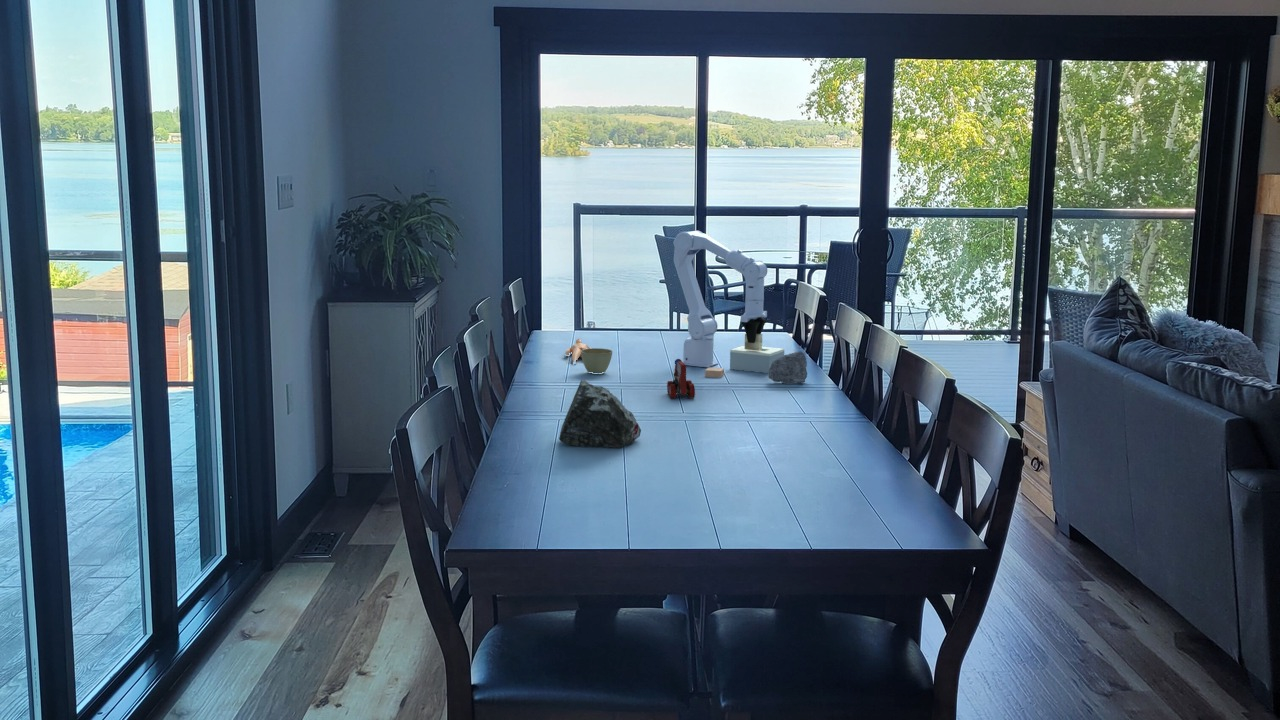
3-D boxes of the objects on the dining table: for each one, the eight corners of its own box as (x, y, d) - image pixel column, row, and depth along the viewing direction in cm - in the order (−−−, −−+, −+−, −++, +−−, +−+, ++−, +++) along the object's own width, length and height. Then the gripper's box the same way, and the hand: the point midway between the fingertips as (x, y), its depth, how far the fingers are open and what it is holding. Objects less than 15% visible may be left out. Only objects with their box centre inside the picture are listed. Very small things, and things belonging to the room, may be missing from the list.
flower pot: (575, 374, 339) (575, 352, 338) (588, 369, 349) (588, 347, 347) (604, 377, 336) (604, 354, 334) (617, 371, 345) (617, 349, 344)
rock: (806, 381, 331) (807, 349, 329) (808, 385, 326) (809, 352, 324) (767, 381, 332) (768, 348, 330) (768, 384, 326) (769, 351, 324)
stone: (594, 469, 245) (619, 411, 241) (534, 430, 252) (558, 373, 248) (635, 460, 261) (659, 405, 257) (577, 423, 268) (600, 369, 265)
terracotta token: (705, 377, 338) (705, 370, 337) (708, 374, 342) (708, 367, 342) (720, 378, 336) (721, 371, 336) (723, 375, 341) (723, 368, 341)
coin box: (729, 369, 350) (730, 349, 349) (745, 363, 359) (745, 344, 358) (769, 373, 343) (769, 353, 342) (783, 368, 352) (784, 348, 351)
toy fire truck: (689, 391, 316) (689, 356, 314) (695, 400, 304) (696, 364, 302) (665, 391, 315) (666, 356, 313) (671, 401, 303) (671, 364, 301)
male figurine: (567, 355, 355) (563, 337, 379) (567, 370, 356) (563, 351, 380) (600, 355, 356) (593, 337, 380) (600, 370, 358) (593, 350, 382)
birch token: (744, 349, 347) (744, 333, 346) (748, 348, 349) (748, 332, 348) (758, 350, 344) (758, 335, 343) (762, 349, 346) (762, 334, 345)
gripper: (755, 302, 335) (754, 346, 338) (775, 298, 347) (774, 340, 350) (735, 301, 339) (734, 344, 341) (756, 296, 351) (755, 338, 353)
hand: (753, 342), depth 346 cm, fingers closed on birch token, 2 cm apart
